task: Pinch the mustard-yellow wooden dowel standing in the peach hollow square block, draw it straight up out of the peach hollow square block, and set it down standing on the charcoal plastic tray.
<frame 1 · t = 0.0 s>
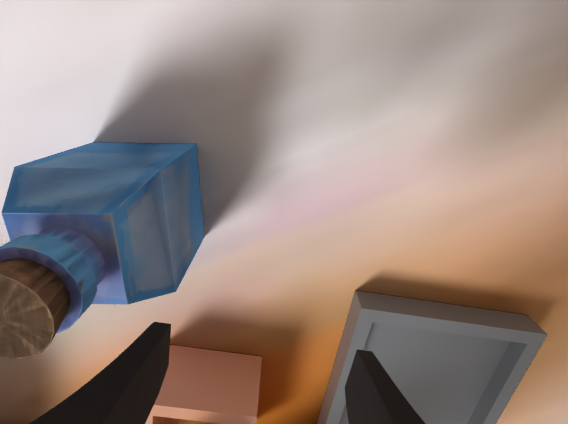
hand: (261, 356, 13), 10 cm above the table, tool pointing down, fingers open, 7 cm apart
peach hollow square block: (209, 386, 27), on the table
tray: (405, 392, 27), on the table
perfume bottle: (153, 191, 21), on the table
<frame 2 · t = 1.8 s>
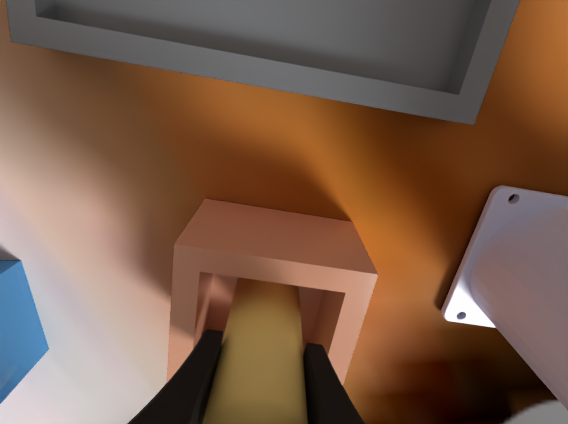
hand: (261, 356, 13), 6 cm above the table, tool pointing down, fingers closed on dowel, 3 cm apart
dowel: (267, 289, 17), point 1 cm above the table, touching peach hollow square block, gripper
peach hollow square block: (268, 273, 18), on the table
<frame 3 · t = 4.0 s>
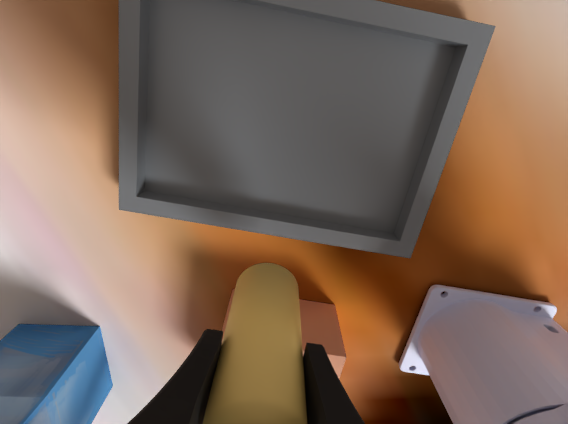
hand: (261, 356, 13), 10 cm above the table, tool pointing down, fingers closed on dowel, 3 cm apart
dowel: (267, 290, 17), point 6 cm above the table, touching gripper
peach hollow square block: (275, 337, 25), on the table
tray: (287, 123, 20), on the table
perfume bottle: (69, 354, 27), on the table
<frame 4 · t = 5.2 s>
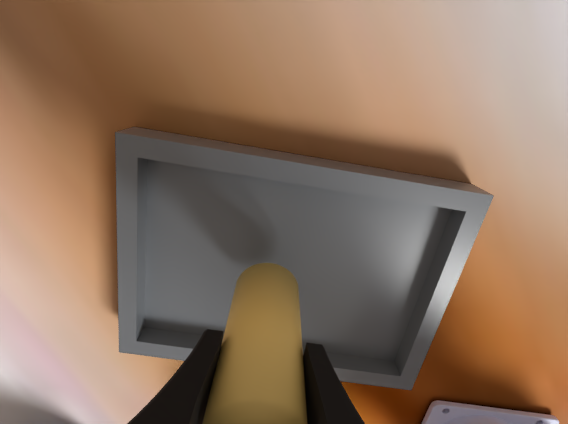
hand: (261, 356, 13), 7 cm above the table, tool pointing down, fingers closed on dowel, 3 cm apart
dowel: (267, 290, 17), point 3 cm above the table, touching gripper
tray: (286, 263, 20), on the table
when the fingers open (6 cm above the table, at t = 6.1 s): dowel drops 1 cm, resting on tray.
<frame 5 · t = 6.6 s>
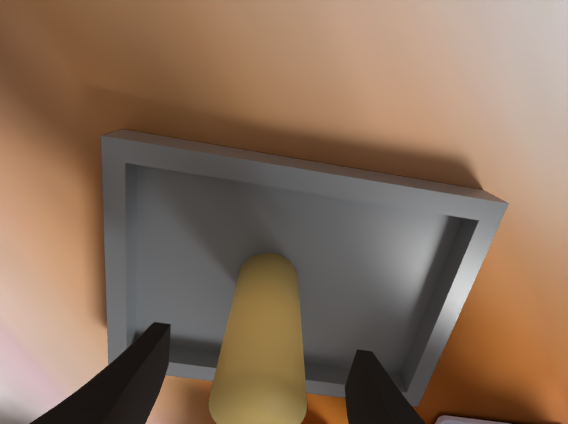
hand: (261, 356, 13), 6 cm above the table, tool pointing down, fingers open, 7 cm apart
dowel: (268, 279, 18), point 1 cm above the table, touching tray
tray: (286, 273, 18), on the table
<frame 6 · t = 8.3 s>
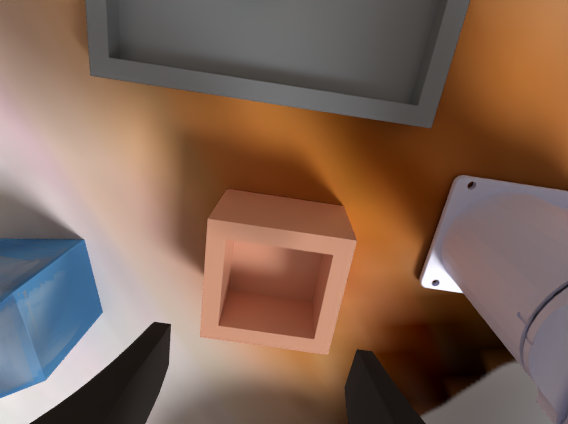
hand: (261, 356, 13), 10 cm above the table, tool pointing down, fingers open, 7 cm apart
peach hollow square block: (277, 249, 23), on the table
perfume bottle: (54, 275, 24), on the table
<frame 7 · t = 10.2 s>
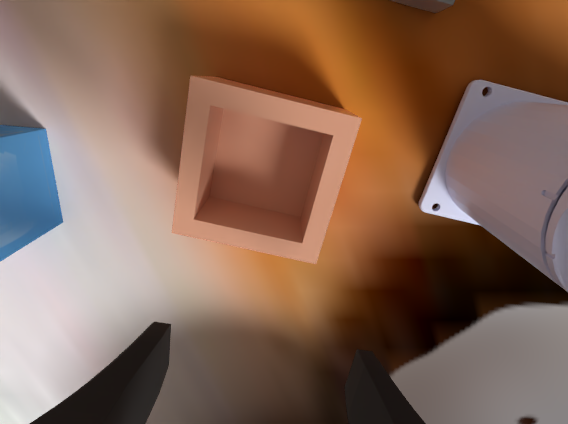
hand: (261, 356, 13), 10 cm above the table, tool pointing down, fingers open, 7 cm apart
peach hollow square block: (267, 156, 20), on the table
perfume bottle: (9, 173, 21), on the table
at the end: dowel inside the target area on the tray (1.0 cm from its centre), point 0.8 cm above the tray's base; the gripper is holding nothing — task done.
